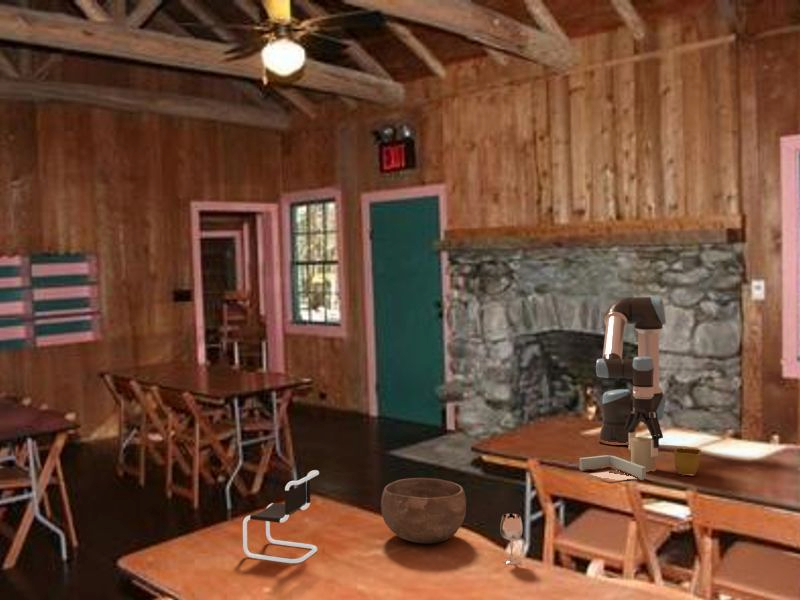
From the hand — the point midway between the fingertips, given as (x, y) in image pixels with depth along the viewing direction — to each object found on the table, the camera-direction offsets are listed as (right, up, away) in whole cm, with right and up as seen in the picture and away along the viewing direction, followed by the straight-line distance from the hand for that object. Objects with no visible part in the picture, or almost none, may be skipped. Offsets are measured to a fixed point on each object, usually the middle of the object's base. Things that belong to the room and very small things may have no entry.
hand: (643, 452), depth 304 cm
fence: (-14, -7, -7) cm, 17 cm away
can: (0, -7, +1) cm, 7 cm away
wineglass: (-64, -10, -95) cm, 115 cm away
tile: (-15, -7, -11) cm, 20 cm away
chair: (-125, -11, -87) cm, 153 cm away
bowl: (-86, -10, -77) cm, 116 cm away
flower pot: (+14, -7, -8) cm, 18 cm away
